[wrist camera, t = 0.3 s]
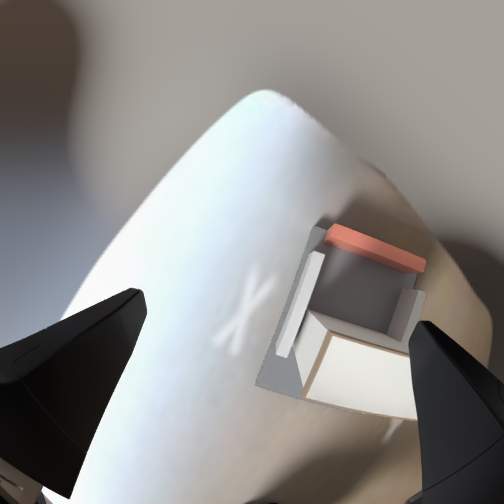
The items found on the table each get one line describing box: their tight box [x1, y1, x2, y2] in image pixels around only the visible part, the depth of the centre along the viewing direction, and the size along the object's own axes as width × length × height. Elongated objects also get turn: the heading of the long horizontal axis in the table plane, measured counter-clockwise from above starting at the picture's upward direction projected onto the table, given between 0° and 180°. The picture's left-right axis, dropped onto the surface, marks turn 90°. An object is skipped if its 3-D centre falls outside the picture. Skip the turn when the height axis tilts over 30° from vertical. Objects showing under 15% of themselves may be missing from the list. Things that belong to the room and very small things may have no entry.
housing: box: [255, 223, 427, 414], centre depth 20 cm, size 14×10×4 cm
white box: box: [293, 308, 417, 421], centre depth 15 cm, size 3×7×10 cm, turn 70°
